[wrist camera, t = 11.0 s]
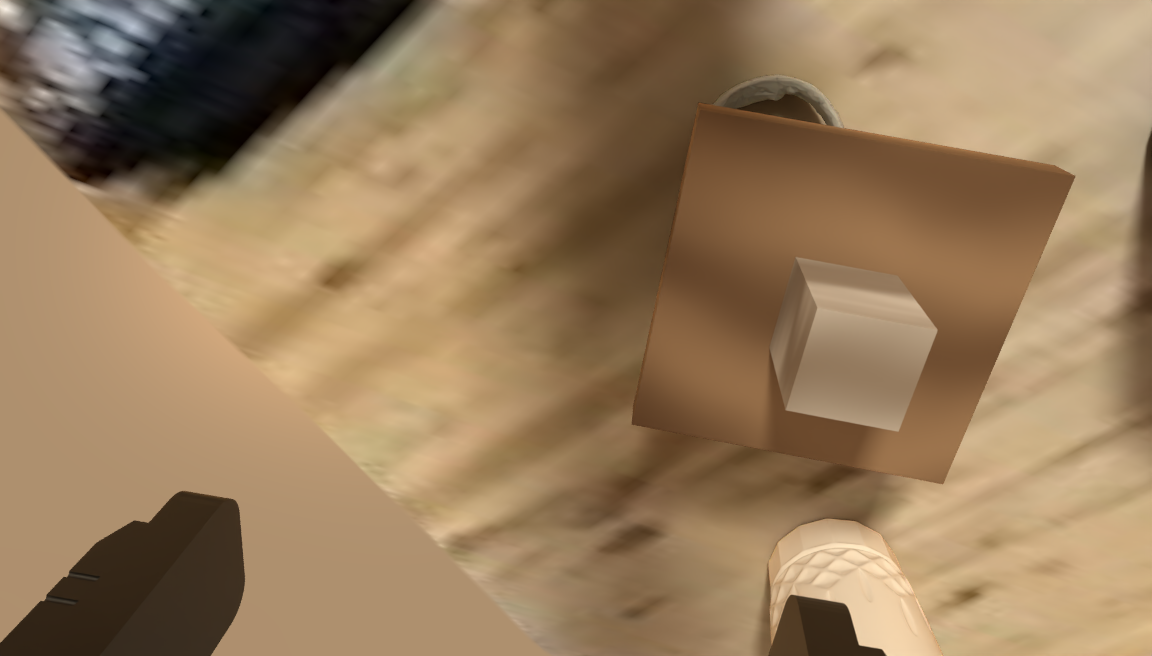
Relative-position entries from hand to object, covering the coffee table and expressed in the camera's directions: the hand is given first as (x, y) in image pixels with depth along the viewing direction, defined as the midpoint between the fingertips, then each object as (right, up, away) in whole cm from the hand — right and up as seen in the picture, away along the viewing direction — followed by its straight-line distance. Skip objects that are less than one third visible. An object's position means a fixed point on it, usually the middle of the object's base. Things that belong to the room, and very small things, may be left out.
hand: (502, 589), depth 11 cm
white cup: (+15, -9, +32) cm, 37 cm away
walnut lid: (+10, +5, +18) cm, 21 cm away
